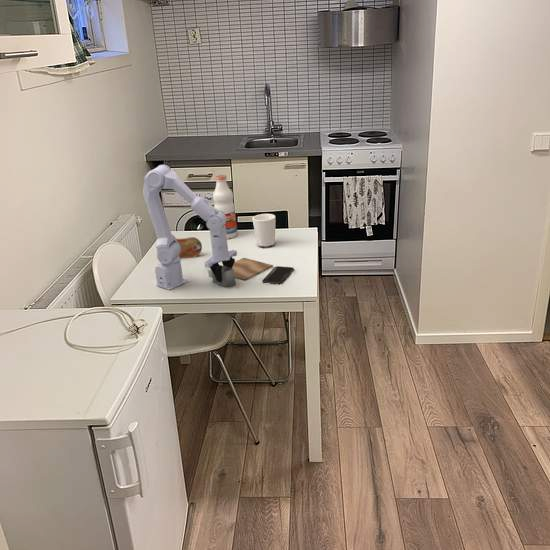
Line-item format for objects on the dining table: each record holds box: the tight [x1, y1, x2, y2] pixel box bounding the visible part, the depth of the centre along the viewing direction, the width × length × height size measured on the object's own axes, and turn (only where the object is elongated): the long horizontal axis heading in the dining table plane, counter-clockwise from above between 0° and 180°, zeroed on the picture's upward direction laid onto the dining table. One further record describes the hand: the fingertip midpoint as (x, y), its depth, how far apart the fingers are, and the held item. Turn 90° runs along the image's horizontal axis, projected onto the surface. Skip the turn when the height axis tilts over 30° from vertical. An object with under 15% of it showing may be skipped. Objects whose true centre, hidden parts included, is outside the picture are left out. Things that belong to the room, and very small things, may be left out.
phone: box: [261, 265, 295, 286], centre depth 213 cm, size 8×1×15 cm
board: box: [232, 257, 274, 281], centre depth 222 cm, size 16×16×1 cm
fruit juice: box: [212, 174, 238, 240], centre depth 255 cm, size 9×9×28 cm
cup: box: [252, 213, 277, 249], centre depth 243 cm, size 10×10×13 cm
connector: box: [207, 264, 236, 289], centre depth 210 cm, size 4×12×6 cm, turn 49°
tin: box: [176, 236, 203, 260], centre depth 238 cm, size 15×3×8 cm, turn 92°
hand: (223, 279), depth 210 cm, fingers closed on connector, 4 cm apart
